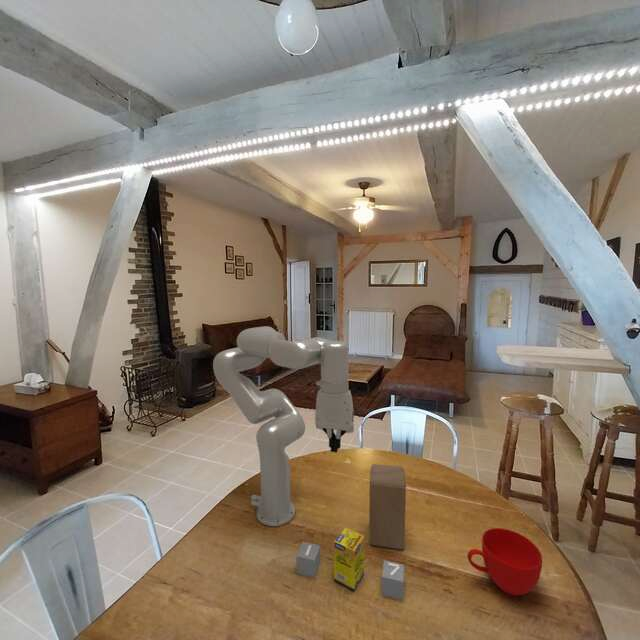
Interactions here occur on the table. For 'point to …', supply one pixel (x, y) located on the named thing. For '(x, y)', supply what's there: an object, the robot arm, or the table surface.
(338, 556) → the supplement box
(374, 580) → the table surface
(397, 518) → the block
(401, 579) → the slate block
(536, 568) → the ceramic cup
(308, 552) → the slate block
